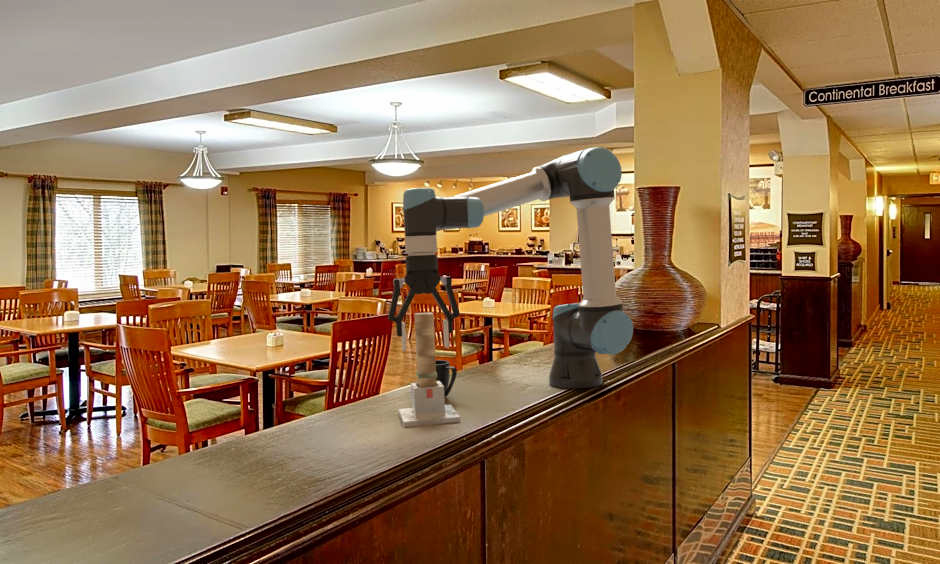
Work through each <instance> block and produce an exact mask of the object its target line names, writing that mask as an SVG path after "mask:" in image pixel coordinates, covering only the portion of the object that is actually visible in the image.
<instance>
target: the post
mask: <svg viewBox="0 0 940 564" xmlns="http://www.w3.org/2000/svg"><path fill="white" fill-rule="evenodd" d="M434 316H435V314H434V313H433V312H415V313H414V328H415V330H414V331H415V349H416V351H415V352H416V354H415V355H416V356H415V357H416V371H415V373H416V377H417V382H418V387H430V386H437V381H436V377H437V372H436V360H437V359H436V343H435V342H436V339H435V338H436V337H435V317H434Z"/></svg>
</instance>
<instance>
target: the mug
mask: <svg viewBox="0 0 940 564" xmlns="http://www.w3.org/2000/svg"><path fill="white" fill-rule="evenodd" d="M450 370H451V373H450ZM436 372H437V377H436V381H440V382H441V383H442V384H443V386H444V398H446V397H448V395H449V394H450V393H451V391H452V388H453V386H454V384H455V382H456V378H457V374H458V372H457V368H456V367H455V366H450V361H448V360H444V359H442V360H441V359H436ZM450 374H451V378H450Z"/></svg>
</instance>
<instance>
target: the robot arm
mask: <svg viewBox="0 0 940 564" xmlns="http://www.w3.org/2000/svg"><path fill="white" fill-rule="evenodd" d="M622 174H623V172H622V166H621V163H620V161H619V159H618V157H617V156H616V155H615V154H614V153H613V152H612V151H611V150H609V149H608V148H605V147H600V146H598V147H597V146H596V147H595V146H594V147H589V148H584V149H582V150H578V151H575V152H571V153H567V154H564V155H562V156H560V157H557V158H555V159H553V160H552V161H549V162H547V163H544V164H541V165H539V166H535V167H533V168H532V170H531V171H530V172H529V173H525V174H522V175H518V176H515V177H512V178H508V179H505V180H502V181H499V182H495V183H492V184H488V185H486V186H482V187H479V188H475V189H472V190H470V191H469V190H468V191H466V192H463V193H459V194H456V195H453V196H450V197H449V196H447V197H446V196H445V197H444V196H443V197H441V196H437V195H436V192H435V189H434V188H431V187H413V188H409V189H408V188H407V189H405V191H404V192H403V199H402V214H403V225H404V226H403V227H404V247H405V249H404V250H405V251H404V252H405V254H407V255H406V256H405V276H404V278H394V279H393V281H392V285H393V293H392V297H391V302H390V306H389V311H388V315H387V316H388V317H387V318H388V320H389V321H390V322H394V323H395V326H396V327H395V331H396V337H398V338H399V337H400V338H401V340H400V341H401V350H402V352H407V340H406V339H407V336H406V334H407V333H406V323H405V321H403V319H404V318H405V316H406V314H407V311H408V309H409V307H410V306H411V303H412V301H413V299H414V297H415V296H416V295H422V294H426V295H428V294H429V295H430V294H431V296H433V299H434V300H435V302H436V303H437V305H438V306H439V308H440V309H441V311H442V313H443V315H444V317H445V318H446V319H442V324H443V325H442V327H443V345H444V348H446V349H450V337H449V336H450V334H453V332H454V329H453V320H454V319H456V318H458V317H460V316H461V313H460V310H459V306H458V304H457V299H456V296H455V293H454V290H453V287H452V284H453V279H452V276H448V275H447V276H441V275H440V274H439V273H440V272H439V263H438V260H439V259H438V255H437V254H436V253H437V252H438V241H437V234H438V233H437V232H439V231H440V232H441V231H443V230H455V229H473V228H478V227H480V226H481V225H482V223H483V221H484V217H487V216H490V215H493V214H497V213H499V212H502V211H506V210H508V209H511V208H515V207H519V206H522V205H524V204H528V203H530V202H534V201H537V200H539V201H541V202H546V201H548V200H552V199H558V198H566V197H568V198H569V203H570V204H571V205H572V206H573V207H574V208H575V209H576V220H577V232H578V233H577V234H578V243H579V245H578V246H579V260H580V272H581V273H580V274H581V282H582V283H581V285H582V294H583V295H582V296H583V297H582V299H581V300H580V302H578V303H577V302H575V303H566V304H558V305H556V306H554V308H553V311H552V324H553V350H554V351H553V352H554V353H553V355H554V357H553V361H552V364H551V368H550V372H549V375H548V383H549V384H548V385H550V386H551V387H555V388H561V389H562V388H563V389H589V388H595V387H598V386H600V385H603V373H602V371H601V369H600V365H599V363H598V359H597V357H596V353H597V354H599V355H617V354H618V353H619V354H620V353H621V352H622V351H624V350H625V349H626V348H627V346H628V345H629V344H630V342H631V340H632V337H633V333H634V325H633V321H632V319H631V318H630V316H629V315H628V314H627V313H625V312H624V308H623V307H624V306H623V300H621V299H620V297H619V296H617V291H616V277H615V265H614V252H613V251H614V250H613V239H612V224H611V211H610V206H611V203H612V202H613V201H614V200H615V189H616V188H617V187H618V186H619V183H620V182H621V179H622ZM439 283H441V285H443V286H444V287H445V292H446V295H447V298H448V302H449V304H450V309H451V311H452V312H450V309H449V308H448V307H447V305H446V303H445V301H444V300H443V298H442V296H441V294H440V293H439V291H438V289H437V286H438V284H439ZM404 284H406V285H407V287H408V289H409V290H408V292H407V295H406V296H405V300H404V301H403V304H402V305H401V307H400V309H399V311H398V313H397V315H396V311H397V306H398V301H399V297H400V292H401V289H402V288H403V287H404Z"/></svg>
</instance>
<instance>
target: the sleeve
mask: <svg viewBox="0 0 940 564" xmlns="http://www.w3.org/2000/svg"><path fill="white" fill-rule="evenodd" d="M410 395H411V399H410V400H411V407H407V408H405V407H404V408H398V416H399V418H400V421H401V423H402V425H403V427H404V428H407V427H410V428H411V427H421V426H429V425H430V426H433V425H441V424H452V423H454V424H455V423H460V422H461V416H460V415H459V414H458V412H457V411H456V409H454V407H453V405H451V404H446V403H445V402H446V401H445V398H446V397H445V398H444V386H443V384H442V383H441V382H440V381H437V386H430V387H418V381H417V382H410Z"/></svg>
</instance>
